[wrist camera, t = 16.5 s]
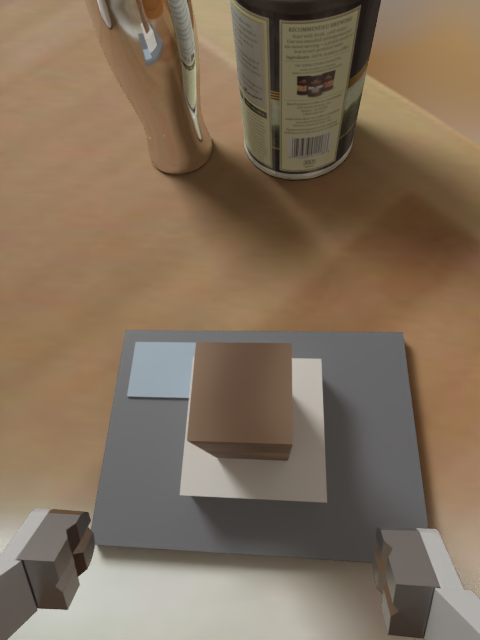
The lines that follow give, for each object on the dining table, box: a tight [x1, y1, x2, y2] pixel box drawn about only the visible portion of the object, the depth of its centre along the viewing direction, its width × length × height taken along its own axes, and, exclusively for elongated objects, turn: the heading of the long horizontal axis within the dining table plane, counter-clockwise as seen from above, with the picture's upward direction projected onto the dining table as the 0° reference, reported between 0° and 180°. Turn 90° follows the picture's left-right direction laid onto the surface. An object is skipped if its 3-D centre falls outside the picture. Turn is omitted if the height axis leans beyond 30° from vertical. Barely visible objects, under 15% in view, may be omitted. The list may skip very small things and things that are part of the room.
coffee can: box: [230, 0, 381, 180], centre depth 31 cm, size 10×10×14 cm
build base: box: [91, 330, 428, 563], centre depth 25 cm, size 20×14×4 cm
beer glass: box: [85, 0, 212, 174], centre depth 31 cm, size 7×7×15 cm
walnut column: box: [187, 342, 293, 461], centre depth 19 cm, size 4×4×8 cm
